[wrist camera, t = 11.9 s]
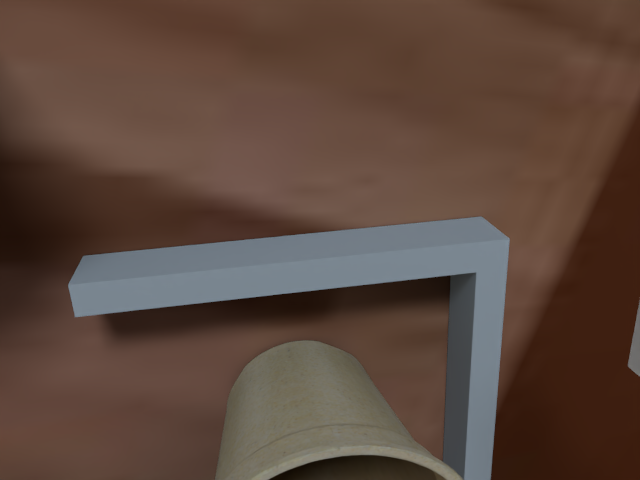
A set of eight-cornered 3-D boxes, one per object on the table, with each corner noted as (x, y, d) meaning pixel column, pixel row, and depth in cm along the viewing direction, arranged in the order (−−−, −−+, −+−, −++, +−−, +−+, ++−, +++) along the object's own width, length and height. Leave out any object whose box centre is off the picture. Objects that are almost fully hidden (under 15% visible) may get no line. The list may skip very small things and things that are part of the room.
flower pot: (447, 396, 27) (543, 557, 19) (292, 519, 28) (322, 719, 20) (313, 259, 24) (363, 387, 16) (142, 406, 25) (108, 595, 17)
